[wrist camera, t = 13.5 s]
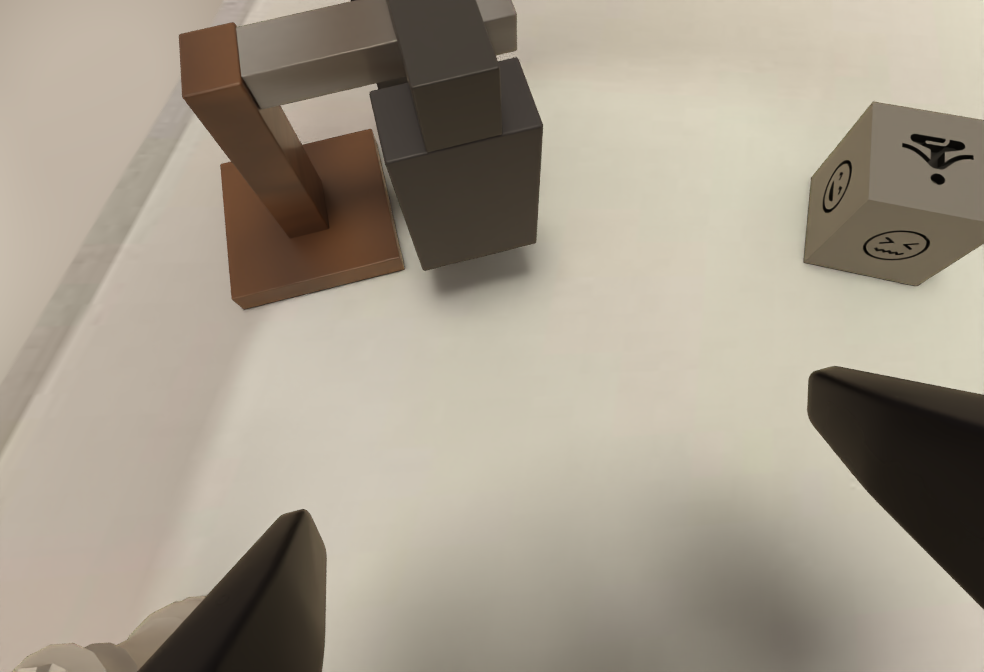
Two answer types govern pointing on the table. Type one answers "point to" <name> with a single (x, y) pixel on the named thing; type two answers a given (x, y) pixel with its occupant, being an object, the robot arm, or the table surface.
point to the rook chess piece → (113, 646)
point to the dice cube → (899, 195)
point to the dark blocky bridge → (458, 135)
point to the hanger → (302, 168)
